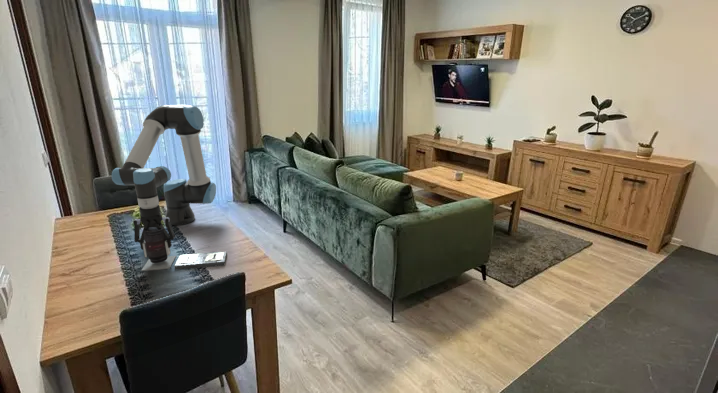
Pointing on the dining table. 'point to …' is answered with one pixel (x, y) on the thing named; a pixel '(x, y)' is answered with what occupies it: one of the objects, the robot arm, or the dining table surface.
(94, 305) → the dining table surface
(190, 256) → the psu chassis
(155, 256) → the camera lens
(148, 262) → the rubber mat
